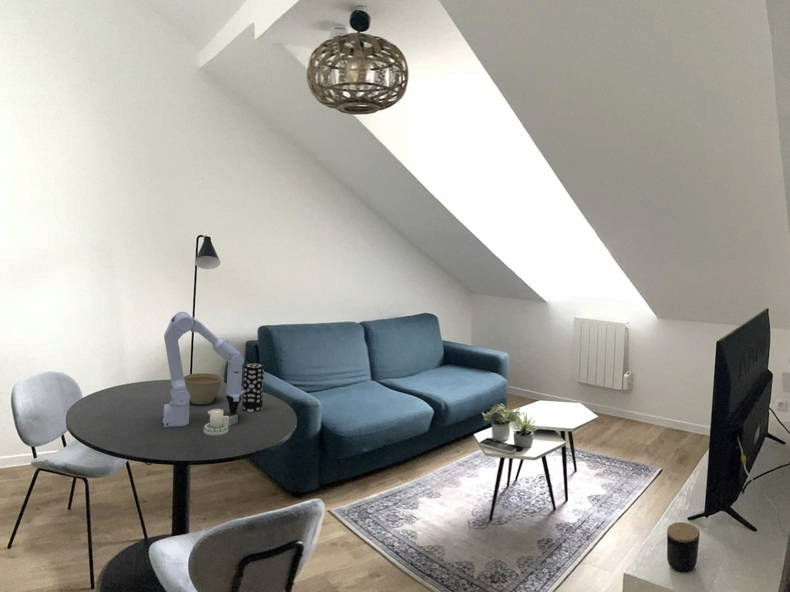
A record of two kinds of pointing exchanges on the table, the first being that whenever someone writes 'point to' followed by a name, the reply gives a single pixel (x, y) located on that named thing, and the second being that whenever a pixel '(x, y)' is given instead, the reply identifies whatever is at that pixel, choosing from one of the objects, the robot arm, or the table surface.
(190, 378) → the planter bowl
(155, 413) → the table surface
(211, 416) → the cream round-ended cylinder
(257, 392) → the spotted tube
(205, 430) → the turntable
